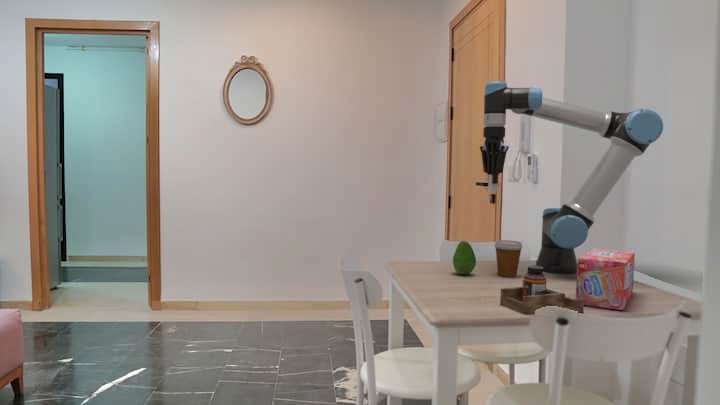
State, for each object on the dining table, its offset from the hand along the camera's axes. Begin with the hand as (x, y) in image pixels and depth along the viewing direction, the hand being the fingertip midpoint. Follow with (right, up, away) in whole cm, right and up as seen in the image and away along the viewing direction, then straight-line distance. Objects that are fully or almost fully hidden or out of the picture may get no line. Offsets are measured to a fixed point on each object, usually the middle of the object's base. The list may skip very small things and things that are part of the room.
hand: (492, 192), depth 195 cm
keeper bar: (+5, -32, -37) cm, 49 cm away
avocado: (-11, -29, -3) cm, 31 cm away
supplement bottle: (+1, -33, -44) cm, 55 cm away
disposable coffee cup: (+5, -30, -3) cm, 30 cm away
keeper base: (+3, -32, -46) cm, 56 cm away
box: (+26, -32, -33) cm, 53 cm away
